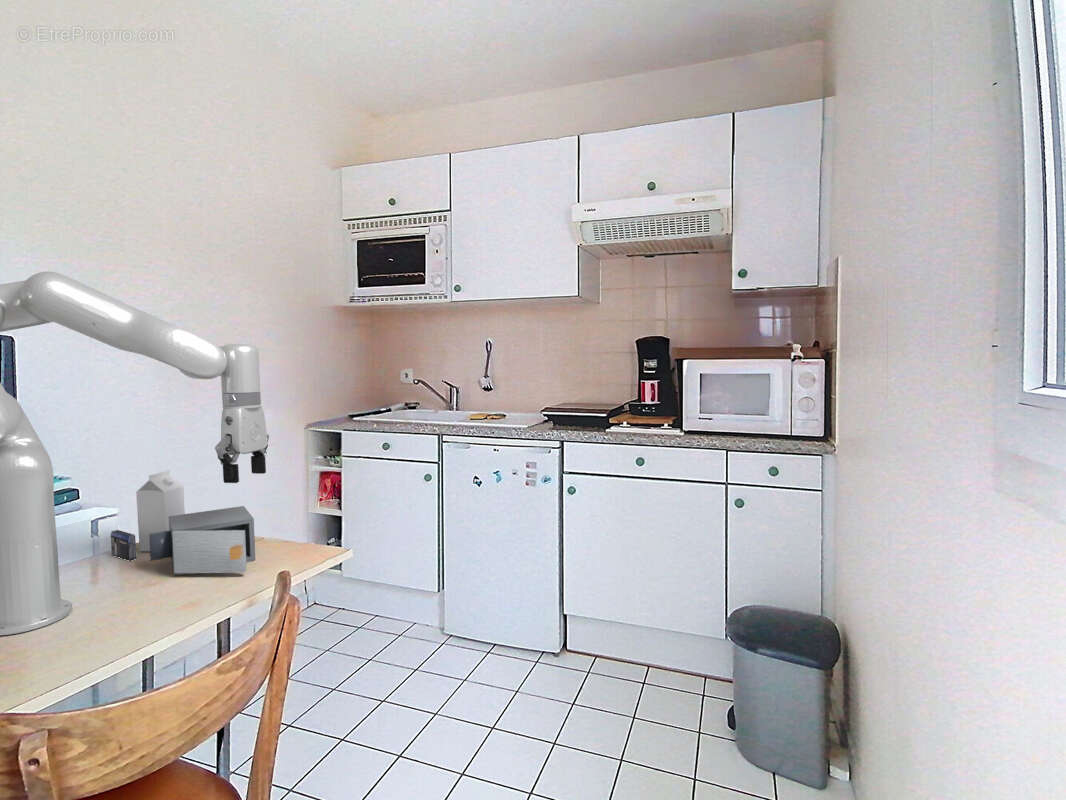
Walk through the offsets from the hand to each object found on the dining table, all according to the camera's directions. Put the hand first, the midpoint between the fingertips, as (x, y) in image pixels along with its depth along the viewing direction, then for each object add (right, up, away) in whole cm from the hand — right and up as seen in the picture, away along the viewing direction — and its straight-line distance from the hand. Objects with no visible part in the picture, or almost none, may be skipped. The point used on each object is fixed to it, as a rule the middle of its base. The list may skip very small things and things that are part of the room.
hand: (245, 477), depth 125 cm
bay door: (-6, -20, -4) cm, 21 cm away
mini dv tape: (-34, -21, +9) cm, 41 cm away
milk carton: (-29, -20, +17) cm, 39 cm away
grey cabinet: (-13, -20, +7) cm, 25 cm away
